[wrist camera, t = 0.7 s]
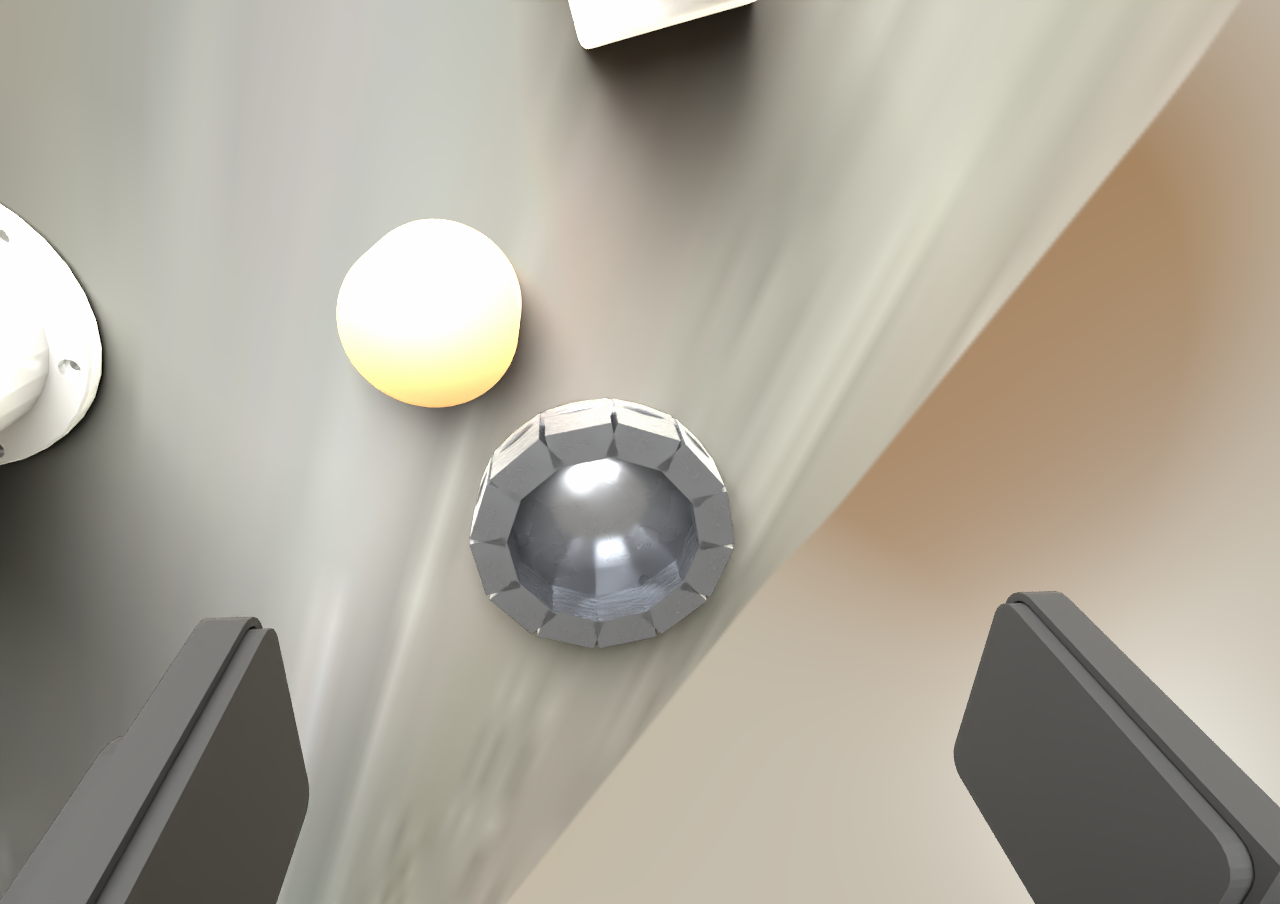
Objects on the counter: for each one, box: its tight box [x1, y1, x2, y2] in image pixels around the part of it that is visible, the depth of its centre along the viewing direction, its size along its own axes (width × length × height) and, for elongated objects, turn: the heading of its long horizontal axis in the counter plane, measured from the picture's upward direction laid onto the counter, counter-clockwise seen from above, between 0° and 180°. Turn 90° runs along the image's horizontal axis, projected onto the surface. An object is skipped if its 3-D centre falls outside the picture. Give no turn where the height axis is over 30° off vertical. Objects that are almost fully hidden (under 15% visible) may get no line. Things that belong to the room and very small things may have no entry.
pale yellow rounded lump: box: [337, 219, 522, 407], centre depth 32 cm, size 7×7×4 cm
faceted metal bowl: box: [470, 397, 734, 648], centre depth 37 cm, size 13×13×3 cm
